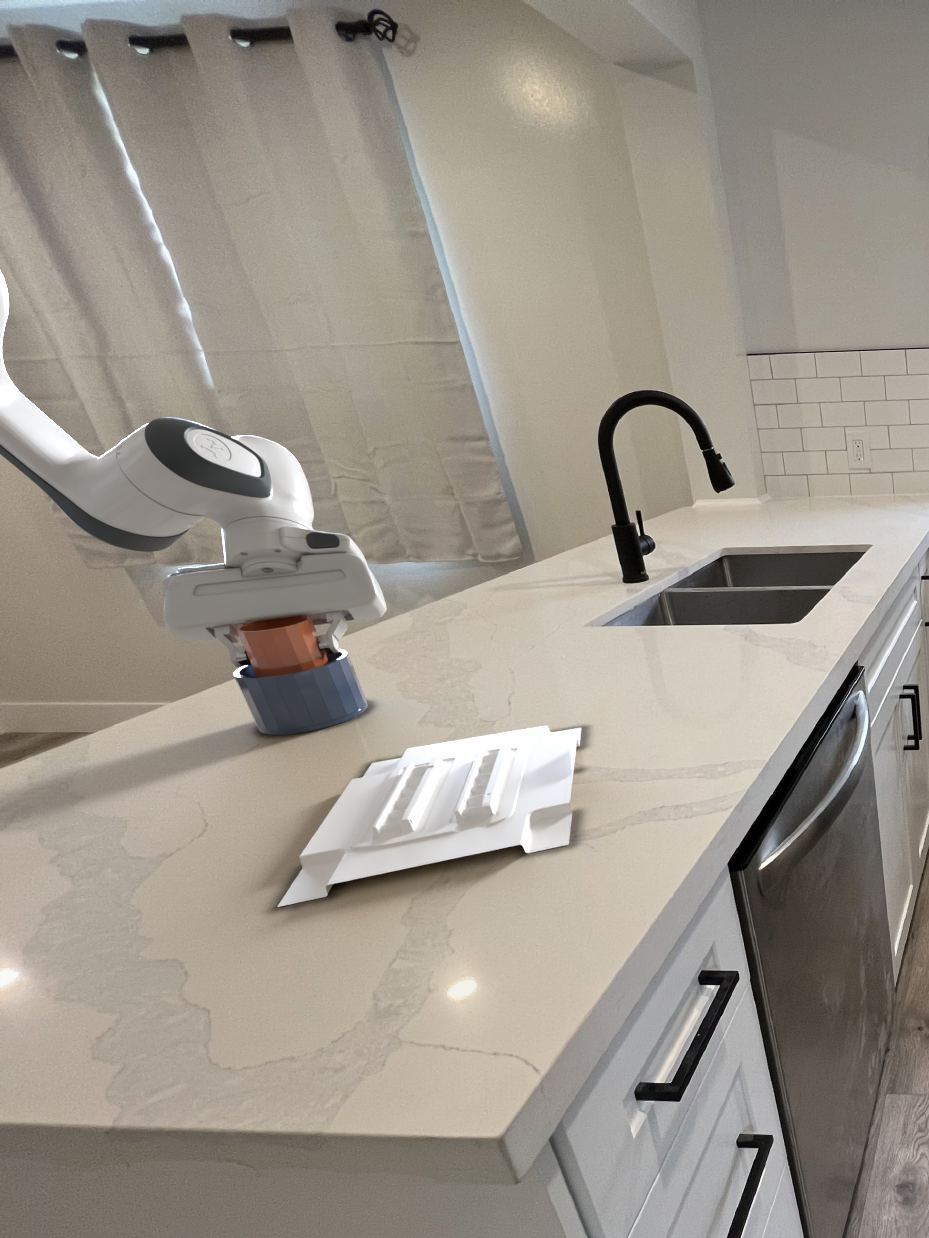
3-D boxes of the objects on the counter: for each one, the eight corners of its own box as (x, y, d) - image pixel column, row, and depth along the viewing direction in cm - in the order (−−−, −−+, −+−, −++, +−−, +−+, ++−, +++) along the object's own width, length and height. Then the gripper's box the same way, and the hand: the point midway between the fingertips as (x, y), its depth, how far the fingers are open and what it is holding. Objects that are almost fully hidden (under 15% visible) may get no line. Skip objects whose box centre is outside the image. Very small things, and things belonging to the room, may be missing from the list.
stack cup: (239, 727, 94) (213, 672, 91) (335, 696, 103) (314, 645, 100) (291, 740, 90) (265, 682, 87) (387, 706, 99) (366, 653, 96)
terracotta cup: (256, 702, 94) (223, 628, 90) (318, 683, 100) (290, 613, 96) (289, 709, 92) (257, 634, 88) (351, 689, 97) (323, 618, 93)
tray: (276, 908, 61) (256, 866, 59) (373, 772, 84) (361, 739, 83) (571, 844, 68) (559, 805, 66) (584, 735, 92) (576, 705, 90)
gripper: (145, 554, 90) (153, 660, 86) (364, 534, 98) (380, 629, 94) (177, 585, 95) (186, 686, 91) (382, 563, 104) (398, 655, 100)
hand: (287, 657), depth 93 cm, fingers closed on terracotta cup, 7 cm apart
